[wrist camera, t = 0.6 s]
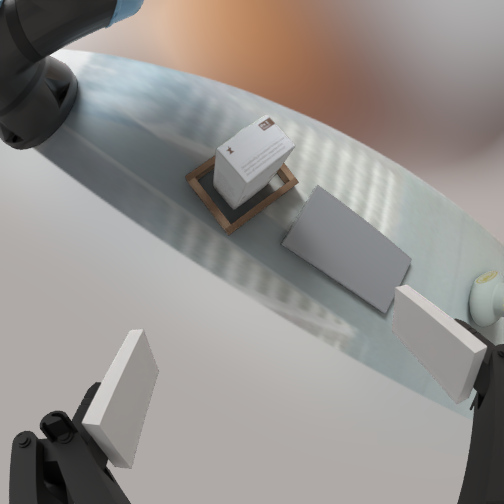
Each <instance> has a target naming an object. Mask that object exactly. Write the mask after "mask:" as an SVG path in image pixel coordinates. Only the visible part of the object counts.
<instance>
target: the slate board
mask: <svg viewBox="0 0 504 504" xmlns="http://www.w3.org/2000/svg"><path fill="white" fill-rule="evenodd" d="M281 245H282V246H284V247H286V248H287V249H289V250H290V251H292V252H293V253H295V254H296V255H298V256H299V257H301V258H302V259H304V260H305V261H307V262H308V263H310V264H311V265H313V266H314V267H316V268H317V269H319V270H320V271H322V272H323V273H325V274H326V275H328V276H329V277H331V278H332V279H334V280H335V281H337V282H338V283H340V284H341V285H342V286H344V287H345V288H347V289H348V290H350V291H351V292H353V293H354V294H356V295H357V296H359V297H360V298H362V299H363V300H365V301H366V302H367V303H369V304H370V305H372V306H373V307H375V308H376V309H378V310H379V311H380V312H382V313H386V311H387V310H388V308H389V306H390V304H391V302H392V300H393V298H394V296H395V287H399V286H400V284H401V282H402V280H403V278H404V275H405V273H406V271H407V269H408V267H409V265H410V262H411V260H412V259H411V258H410V257H409V256H408V255H407V254H405V253H404V252H403V251H402V250H401V249H400V248H398V247H397V246H396V245H395V244H394V243H392V242H391V241H390V240H389V239H388V238H386V237H385V236H384V235H383V234H382V233H380V232H379V231H378V230H377V229H375V228H374V227H373V226H372V225H370V224H369V223H368V222H367V221H365V220H364V219H363V218H362V217H360V216H359V215H358V214H356V213H355V212H354V211H352V210H351V209H350V208H349V207H347V206H346V205H345V204H343V203H342V202H341V201H339V200H338V199H337V198H335V197H334V196H332V195H331V194H330V193H328V192H327V191H326V190H324V189H323V188H321V187H320V186H319V185H317V186H316V187H315V188H314V190H313V191H312V193H311V195H310V197H309V198H308V200H307V202H306V203H305V205H304V207H303V208H302V210H301V212H300V213H299V215H298V217H297V218H296V220H295V222H294V223H293V225H292V227H291V228H290V230H289V232H288V233H287V235H286V237H285V238H284V240H283V241H282V243H281Z"/></svg>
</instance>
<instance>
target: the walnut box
mask: <svg viewBox="0 0 504 504" xmlns="http://www.w3.org/2000/svg"><path fill="white" fill-rule="evenodd" d="M215 157H216V155H215V156H214V157H212V158H211V159H209V160H208V161H206V162H205V163H203V164H202V165H200V166H199V167H198V168H196V169H195V170H193V171H192V172H191V173H189V174H188V175H186V176H185V177H186V181H187V182H188V183H189V185H190V186H191V187H192V189H193V190H194V191H195V192H196V194H197V195H198V196H199V198H200V199H201V200H202V202H203V203H204V204H205V206H206V207H207V208H208V210H209V211H210V212H211V213H212V215H213V216H214V217H215V219H216V220H217V221H218V223H219V224H220V225H221V227H222V228H223V229H224V230H225V232H226V233H227V234H228V235H230V234H231V233H232V232H234V231H235V230H236V229H238V228H239V227H240V226H242V225H243V224H244V223H246V222H247V221H248V220H249V219H251V218H252V217H253V216H255V215H256V214H257V213H259V212H260V211H261V210H263V209H264V208H265V207H267V206H268V205H269V204H271V203H272V202H273V201H275V200H276V199H277V198H279V197H280V196H282V195H283V194H284V193H286V192H287V191H288V190H290V189H291V188H292V187H294V186H295V185H296V184H297V183H299V182H298V180H297V179H296V178H295V177H294V175H293V174H292V173H291V171H290V170H289V169H288V168H287V166H286V165H285V164H284V163H283V164H282V166H281V167H280V168H279V170H278V171H277V174H278V175H279V176H280V178H281V179H282V180H283V181H284V183H285V185H283V186H282V187H281V188H279V189H278V190H277V191H275V192H274V193H272V194H271V195H270V196H268V197H267V198H266V199H264V200H263V201H262V202H260V203H259V204H258V205H256V206H255V207H254V208H252V209H251V210H249V211H248V212H247V213H245V214H244V215H243V216H241V217H240V218H239V219H238V220H236V221H235V222H234V223H232V224H230V223H229V221H228V220H227V219H226V217H225V216H224V215H223V214H222V212H221V211H220V210H219V208H218V207H217V206H216V204H215V203H214V202H213V201H212V199H211V198H210V197H209V195H208V194H207V193H206V191H205V190H204V189H203V187H202V186H201V185H200V184H199V182H198V181H197V180H199V179H200V178H201V177H203V176H204V175H206V174H207V173H208V172H210V171H211V170H213V169H214V168H215Z"/></svg>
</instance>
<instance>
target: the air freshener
mask: <svg viewBox="0 0 504 504" xmlns="http://www.w3.org/2000/svg"><path fill="white" fill-rule="evenodd" d="M469 306H470V313H471V316H472V318H473V320H474V322H475V323H476V324H477V325H479V326H481V327H485V326H489V325H491V324H493V323H495V322H496V321H498V320H499V319H500V317H504V277H503V276H502V274H501V273H500V272H499V271H490V272H487V273H484V274H482V275H481V276H479V277H478V278H477V279H476V280H475V281H474V283H473V286H472V288H471V292H470V299H469Z"/></svg>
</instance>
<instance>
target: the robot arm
mask: <svg viewBox="0 0 504 504" xmlns="http://www.w3.org/2000/svg"><path fill="white" fill-rule="evenodd" d="M143 1H144V0H0V138H1V139H2V140H3V142H5V143H6V144H8V145H9V146H11V147H12V148H15V149H20V150H23V149H28V148H32V147H34V146H36V145H38V144H40V143H41V142H43V141H44V140H46V139H47V138H48V137H50V136H51V135H52V134H53V133H54V132H55V131H56V130H57V129H58V128H59V126H60V125H61V124H62V123H63V121H64V120H65V119H66V117H67V115H68V114H69V112H70V110H71V108H72V106H73V104H74V101H75V98H76V94H77V80H76V77H75V75H74V74H73V72H72V71H71V69H70V68H69V67H68V66H67V65H66V64H65V63H63V62H61V61H59V60H57V59H55V58H53V57H51V56H49V55H50V54H52V53H54V52H56V51H57V50H59V49H61V48H63V47H65V46H67V45H68V44H70V43H72V42H74V41H76V40H78V39H80V38H82V37H84V36H86V35H88V34H91V33H93V32H95V31H97V30H99V29H101V28H104V27H105V28H108V27H110V26H111V25H112V24H113V23H116V22H118V21H121V20H123V19H125V18H128V17H130V16H132V15H134V14H135V13H137V12H138V10H139V9H140V8H141V6H142V4H143ZM392 332H393V333H394V334H395V335H396V336H397V337H398V338H399V340H400V341H401V342H402V343H403V344H404V345H405V346H406V347H407V348H408V349H409V351H410V352H411V353H412V354H413V355H414V356H415V357H416V358H417V360H418V361H419V362H420V363H421V364H422V365H423V366H424V367H425V369H426V370H427V371H428V372H429V373H430V374H431V375H432V377H433V378H434V379H435V380H436V381H437V382H438V383H439V385H440V386H441V387H442V388H443V389H444V390H445V392H446V393H447V394H448V395H449V396H450V398H451V399H452V400H453V401H454V402H455V404H458V403H460V402H462V401H464V400H466V399H467V398H469V396H470V394H471V391H472V389H473V388H474V389H475V390H476V391H477V393H476V396H475V398H474V400H473V402H472V405H471V407H470V410H472V408H473V406H474V417H473V427H472V435H471V443H470V449H469V455H468V461H467V467H466V471H465V476H464V480H463V485H462V488H461V492H460V496H459V500H458V503H457V504H504V344H500V345H497V346H495V345H494V344H492V343H491V342H490V341H489V340H487V339H486V338H485V337H484V336H482V335H481V334H480V333H479V332H478V333H477V331H476V330H475V329H473V328H472V327H471V326H470V325H468V324H467V323H466V322H464V321H461V320H459V319H452V318H451V317H450V316H448V315H447V314H446V313H445V312H443V311H442V310H441V309H439V308H438V307H437V306H435V305H434V304H433V303H431V302H430V301H429V300H427V299H426V298H425V297H423V296H422V295H420V294H419V293H418V292H416V291H415V290H414V289H412V288H411V287H409V286H408V285H403V286H399V287H395V299H394V312H393V323H392ZM158 372H159V370H158V367H157V365H156V362H155V360H154V357H153V354H152V352H151V349H150V346H149V343H148V341H147V338H146V335H145V332H144V329H137V330H130V332H129V333H128V335H127V337H126V339H125V340H124V342H123V344H122V346H121V347H120V349H119V351H118V353H117V355H116V357H115V358H114V360H113V362H112V364H111V366H110V368H109V370H108V372H107V374H106V376H105V377H104V379H103V381H102V383H101V382H96V383H95V384H94V385H92V386H91V387H90V388H89V389H88V391H87V393H86V394H85V396H84V399H83V400H82V402H81V405H80V406H79V407H78V409H77V412H76V413H75V415H74V417H73V419H72V421H71V420H70V419H69V417H68V416H67V414H66V413H65V412H63V411H54V412H50V413H49V414H47V415H46V416H45V417H44V418H43V419H42V420H41V423H40V429H41V430H42V432H43V433H44V434H45V436H46V437H47V439H38V438H37V437H36V435H35V434H34V433H33V432H31V431H24V432H21V433H19V434H18V435H17V436H16V437H15V438H14V440H13V443H12V453H11V464H10V483H9V504H131V503H130V501H129V500H128V498H127V497H126V496H125V494H124V493H123V491H122V490H121V488H120V486H119V485H118V483H117V482H116V480H115V478H114V477H113V475H112V473H111V472H110V470H109V469H108V468H107V467H106V464H107V461H108V459H109V460H110V461H111V463H112V464H113V465H114V466H115V467H120V468H129V469H131V468H132V465H133V460H134V457H135V453H136V449H137V445H138V442H139V438H140V434H141V431H142V427H143V424H144V420H145V416H146V413H147V410H148V406H149V403H150V399H151V396H152V392H153V389H154V386H155V383H156V379H157V376H158Z"/></svg>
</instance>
